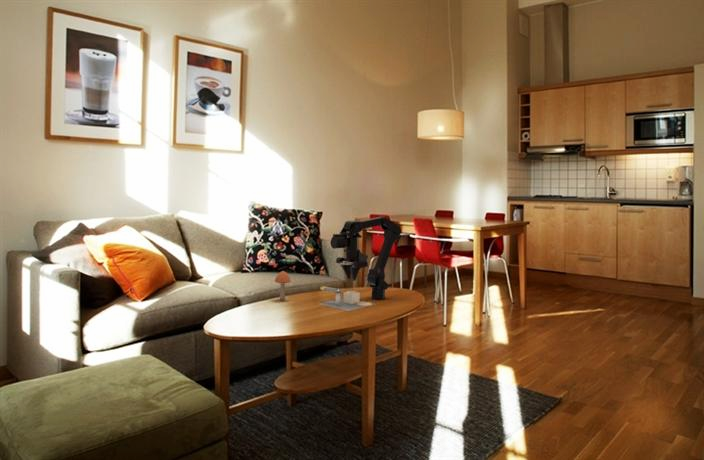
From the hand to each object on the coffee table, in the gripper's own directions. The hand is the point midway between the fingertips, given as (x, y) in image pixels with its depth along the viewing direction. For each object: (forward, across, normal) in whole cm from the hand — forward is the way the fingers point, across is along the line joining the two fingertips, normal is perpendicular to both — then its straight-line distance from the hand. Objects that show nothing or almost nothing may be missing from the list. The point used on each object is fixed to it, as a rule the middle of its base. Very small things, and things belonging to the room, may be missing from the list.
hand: (351, 279), depth 243 cm
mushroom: (+12, +26, +23) cm, 37 cm away
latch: (+5, +2, +10) cm, 11 cm away
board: (+12, -2, +4) cm, 13 cm away
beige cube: (+11, 0, 0) cm, 11 cm away
